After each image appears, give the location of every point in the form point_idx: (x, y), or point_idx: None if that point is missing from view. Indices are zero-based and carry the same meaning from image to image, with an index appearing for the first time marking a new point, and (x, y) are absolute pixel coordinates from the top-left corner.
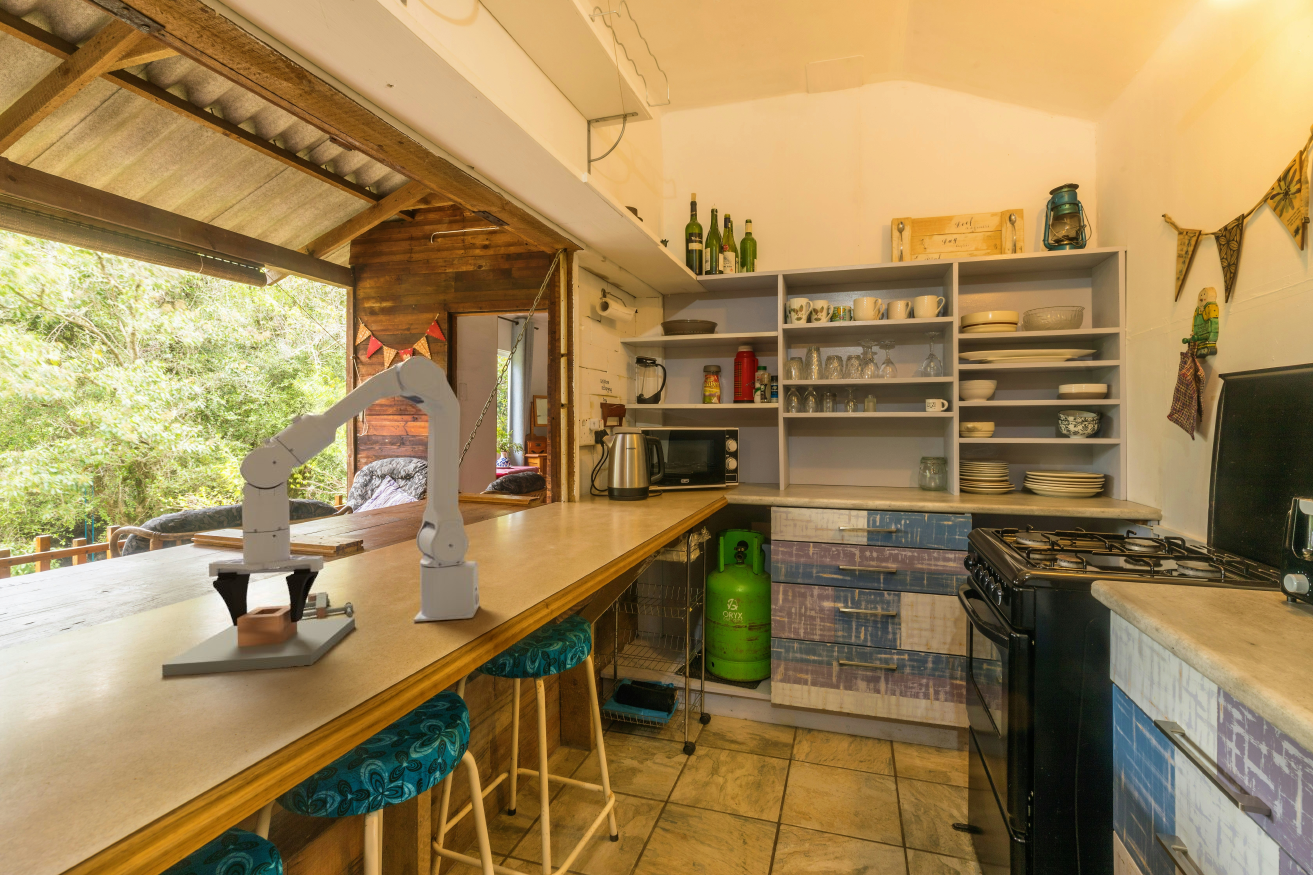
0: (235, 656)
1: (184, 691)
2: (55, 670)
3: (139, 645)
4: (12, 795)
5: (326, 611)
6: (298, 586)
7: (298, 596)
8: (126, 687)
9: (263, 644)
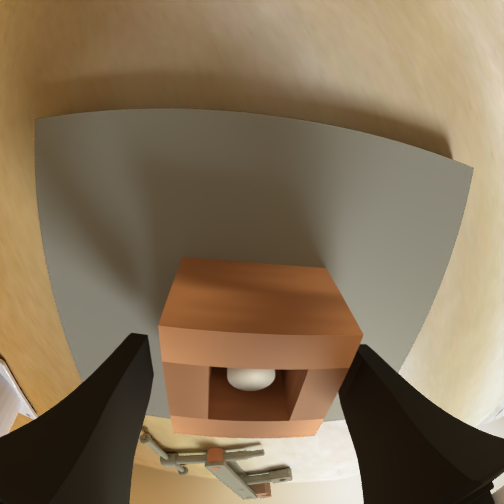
0: (297, 156)
1: (356, 10)
2: None
3: (483, 357)
4: None
5: (205, 457)
6: (18, 439)
7: (59, 404)
8: (486, 120)
9: (239, 263)
